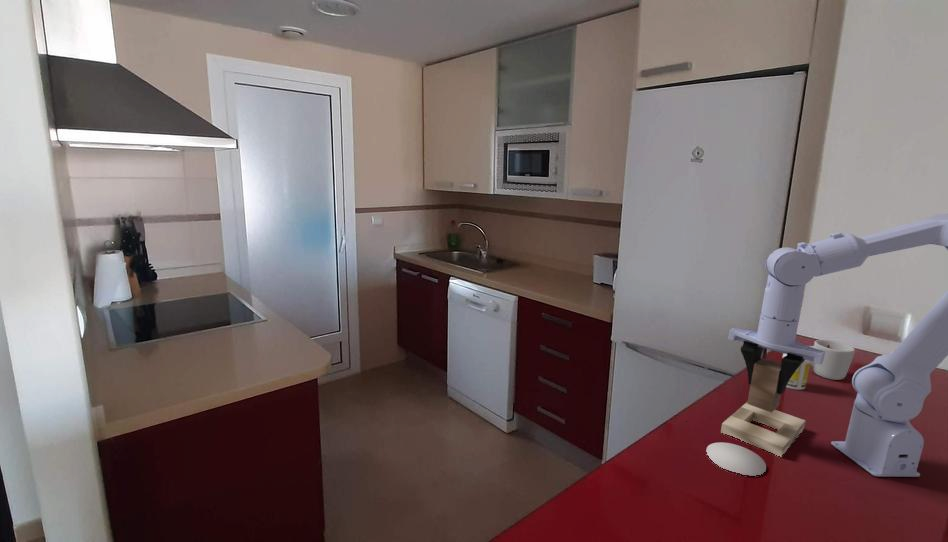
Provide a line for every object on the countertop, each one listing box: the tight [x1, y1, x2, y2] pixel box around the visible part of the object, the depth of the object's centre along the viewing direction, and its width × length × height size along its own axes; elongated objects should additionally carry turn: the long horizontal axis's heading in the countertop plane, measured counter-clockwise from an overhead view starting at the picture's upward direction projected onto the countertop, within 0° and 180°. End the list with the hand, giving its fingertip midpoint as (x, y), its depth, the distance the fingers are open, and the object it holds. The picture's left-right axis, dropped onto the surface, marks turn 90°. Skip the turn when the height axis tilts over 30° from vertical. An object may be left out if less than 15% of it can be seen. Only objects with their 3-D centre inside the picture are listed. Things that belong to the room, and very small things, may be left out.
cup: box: [808, 339, 856, 381], centre depth 116 cm, size 11×8×8 cm
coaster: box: [705, 441, 767, 477], centre depth 80 cm, size 9×9×1 cm
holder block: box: [720, 401, 806, 458], centre depth 89 cm, size 10×14×2 cm
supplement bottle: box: [781, 353, 811, 391], centre depth 109 cm, size 5×5×10 cm
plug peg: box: [746, 357, 782, 413], centre depth 86 cm, size 4×4×8 cm
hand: (766, 387), depth 86 cm, fingers closed on plug peg, 4 cm apart
